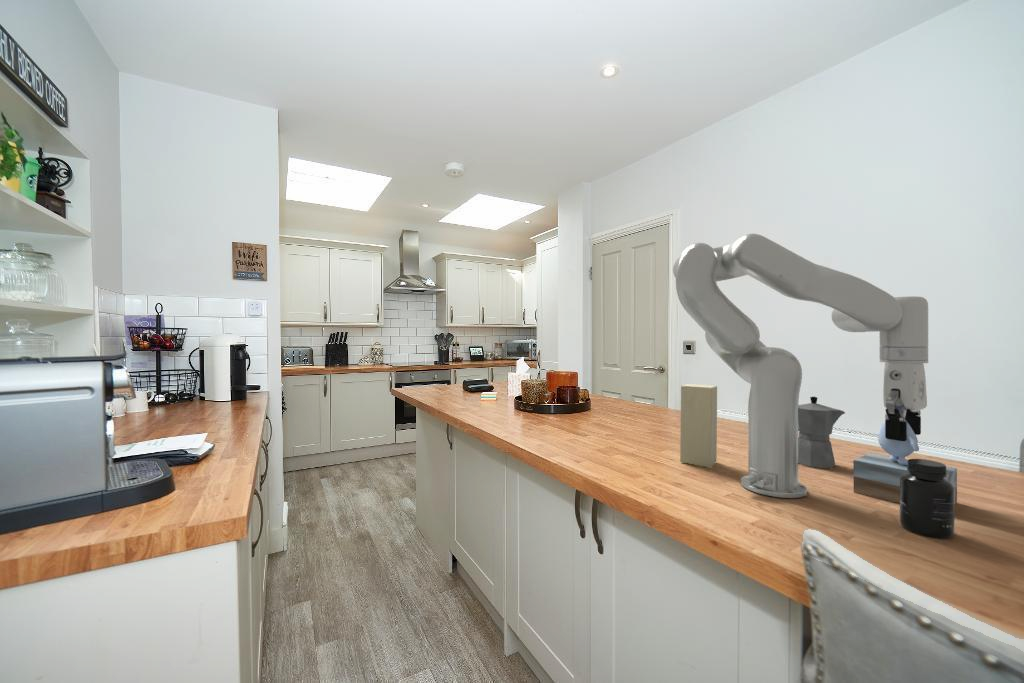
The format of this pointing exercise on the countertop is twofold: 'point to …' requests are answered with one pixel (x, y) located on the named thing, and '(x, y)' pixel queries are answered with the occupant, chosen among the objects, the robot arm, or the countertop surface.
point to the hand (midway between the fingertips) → (903, 436)
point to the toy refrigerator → (698, 424)
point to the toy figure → (898, 445)
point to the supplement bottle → (927, 499)
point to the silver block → (885, 477)
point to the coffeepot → (816, 434)
